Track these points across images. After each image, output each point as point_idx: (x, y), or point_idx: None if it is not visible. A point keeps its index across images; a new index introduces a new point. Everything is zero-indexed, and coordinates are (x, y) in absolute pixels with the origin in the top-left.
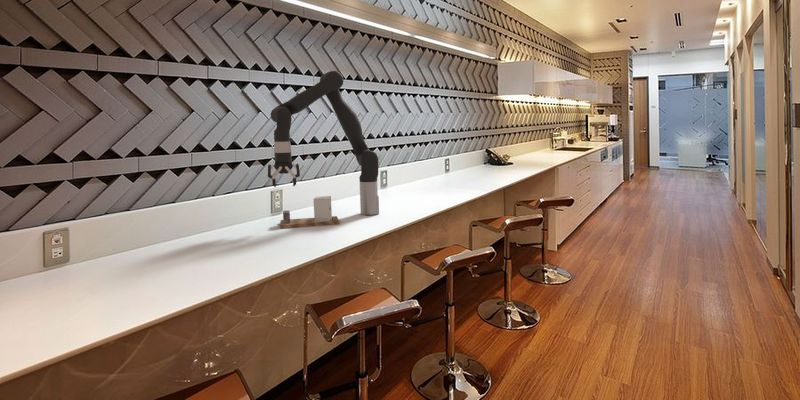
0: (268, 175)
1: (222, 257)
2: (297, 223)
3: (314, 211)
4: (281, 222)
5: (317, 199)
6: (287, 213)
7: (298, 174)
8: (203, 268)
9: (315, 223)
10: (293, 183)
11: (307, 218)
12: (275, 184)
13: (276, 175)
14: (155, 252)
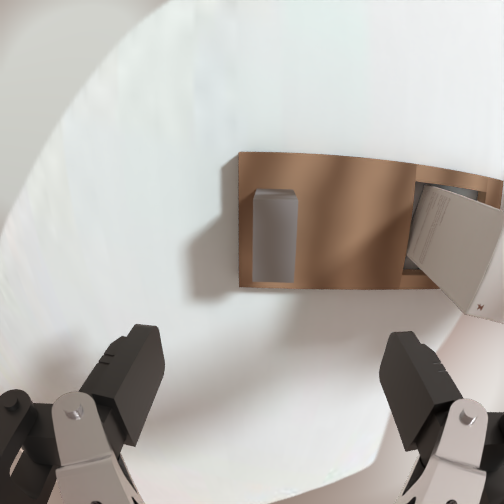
0: (36, 464)
1: (138, 456)
2: (324, 275)
3: (430, 277)
4: (244, 222)
5: (479, 317)
6: (280, 281)
7: (487, 475)
8: (133, 476)
9: (400, 288)
10: (390, 399)
11: (388, 172)
12: (155, 392)
13: (140, 499)
14: (9, 373)
